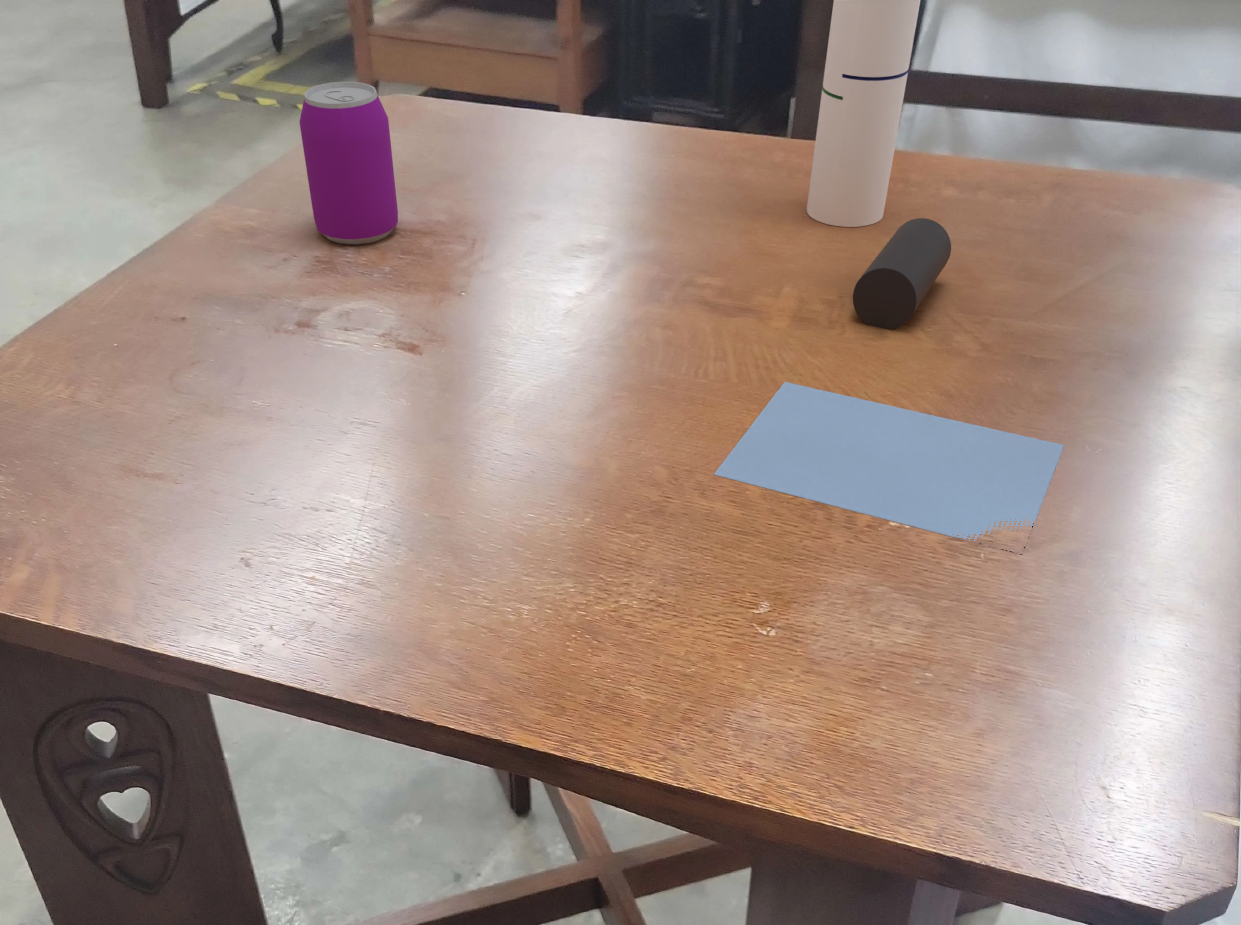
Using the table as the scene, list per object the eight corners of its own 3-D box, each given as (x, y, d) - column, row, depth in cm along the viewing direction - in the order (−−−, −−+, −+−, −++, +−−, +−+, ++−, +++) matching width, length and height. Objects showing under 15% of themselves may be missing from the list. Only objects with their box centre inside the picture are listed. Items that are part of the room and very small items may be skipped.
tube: (894, 280, 102) (887, 222, 99) (953, 273, 99) (948, 214, 97) (857, 332, 95) (848, 271, 92) (919, 327, 92) (912, 264, 90)
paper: (1063, 447, 81) (1064, 444, 81) (1021, 557, 72) (1022, 554, 71) (784, 384, 88) (784, 381, 87) (713, 476, 78) (713, 474, 78)
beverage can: (416, 231, 109) (403, 92, 101) (347, 255, 106) (328, 112, 98) (367, 208, 114) (351, 73, 106) (300, 230, 110) (277, 92, 102)
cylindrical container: (867, 232, 108) (920, -89, 91) (794, 217, 111) (833, -97, 94) (894, 206, 113) (949, -104, 96) (824, 192, 116) (865, -112, 99)
